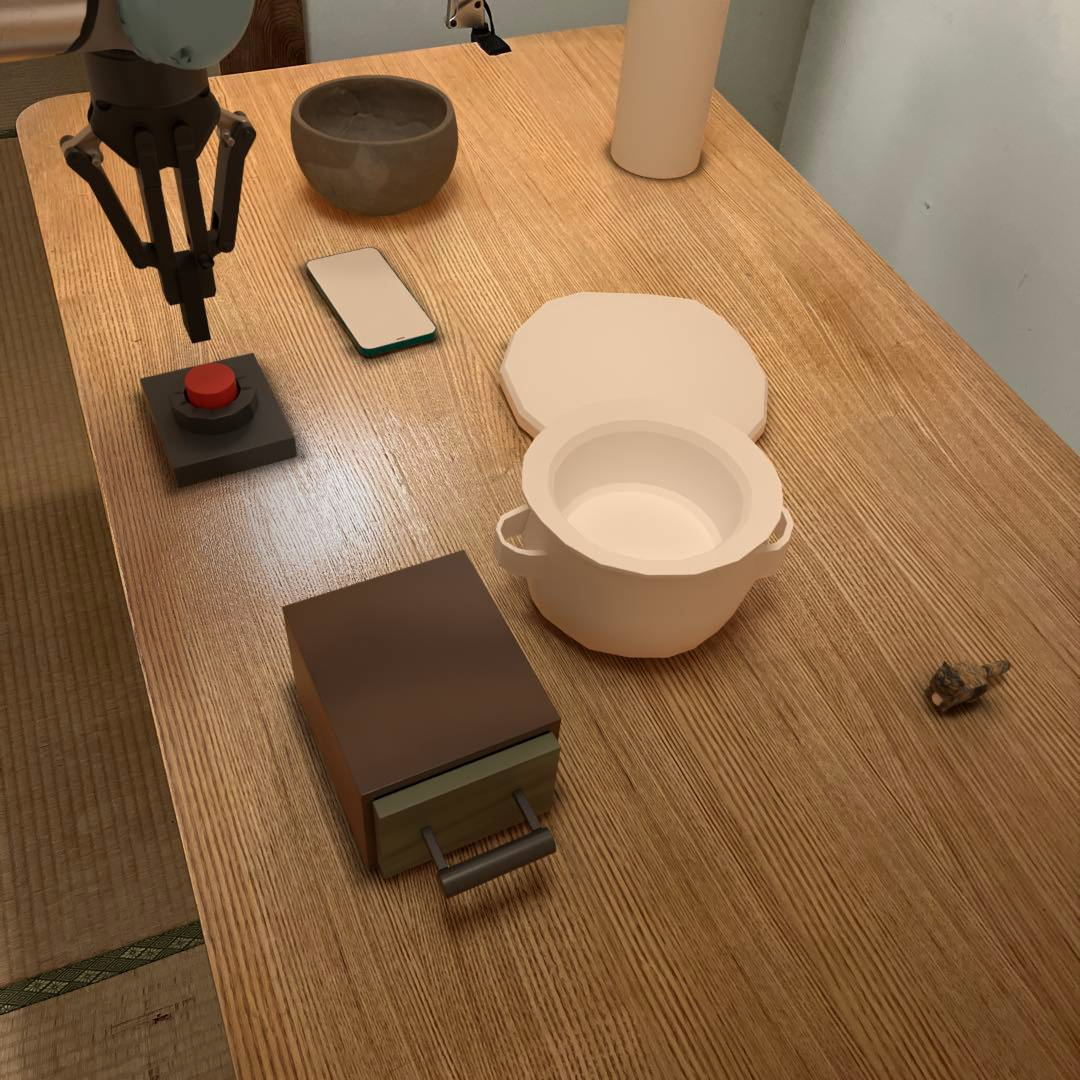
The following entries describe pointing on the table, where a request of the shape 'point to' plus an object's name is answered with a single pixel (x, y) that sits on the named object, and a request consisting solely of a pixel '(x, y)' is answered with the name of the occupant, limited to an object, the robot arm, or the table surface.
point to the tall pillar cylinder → (666, 84)
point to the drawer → (471, 815)
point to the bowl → (374, 142)
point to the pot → (643, 525)
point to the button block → (218, 424)
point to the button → (211, 386)
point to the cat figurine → (962, 682)
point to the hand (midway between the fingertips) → (197, 331)
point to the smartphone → (370, 301)
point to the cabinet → (410, 681)
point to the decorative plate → (631, 359)
